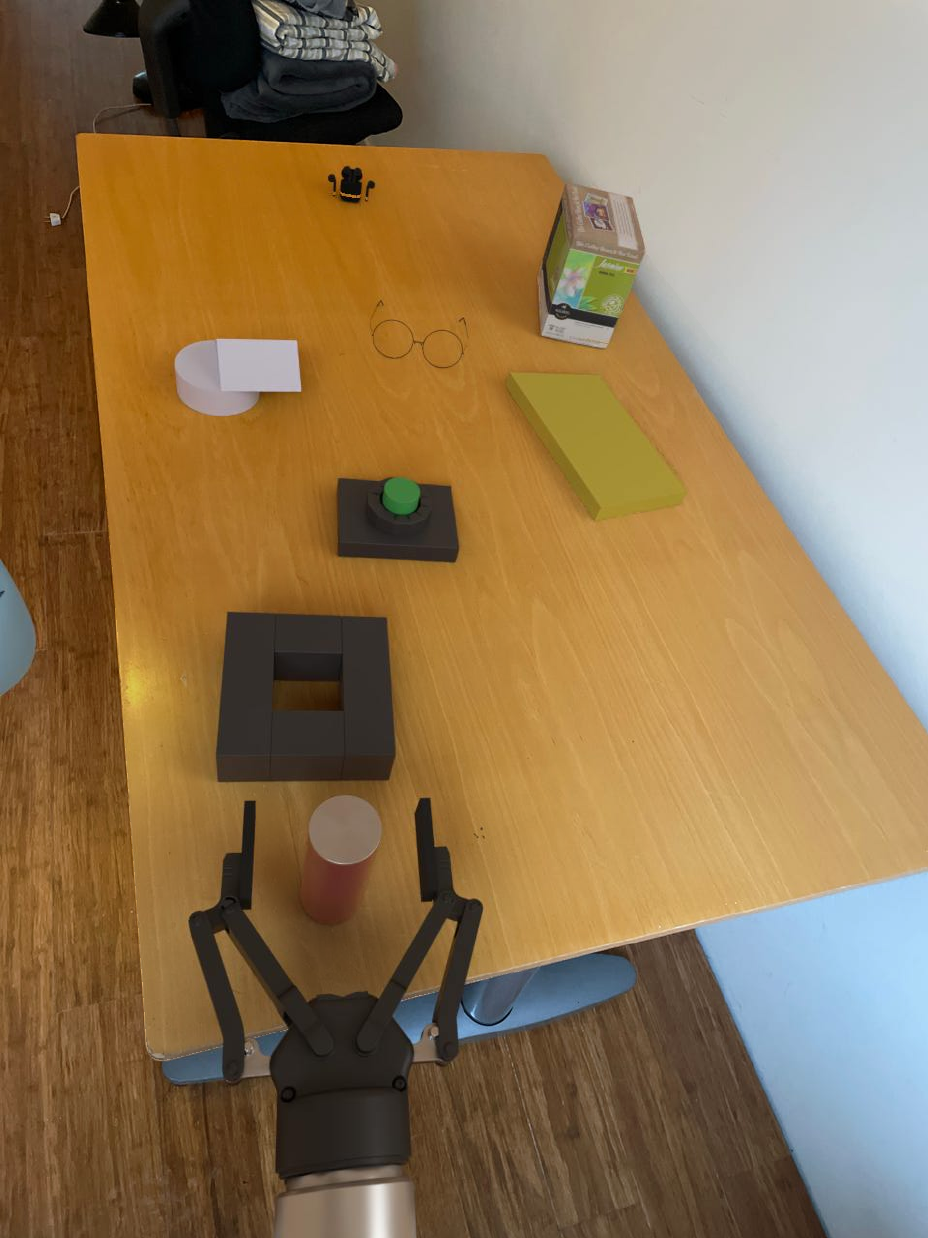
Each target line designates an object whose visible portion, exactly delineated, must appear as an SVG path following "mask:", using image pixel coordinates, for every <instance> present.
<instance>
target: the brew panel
mask: <svg viewBox="0 0 928 1238" xmlns="http://www.w3.org/2000/svg"><path fill="white" fill-rule="evenodd" d="M392 478H396V477H393V476H389V477H386V478H384V479H383V478H382V479H380V480H373V479H361V478H359V479H358V478H346V477H345V478H344V477H338V478H337V485H336V492H335V493H336V494H335V495H336V531H337V532H336V533H337V557H339V558H356V559H357V558H359V559H377V560H379V559H380V560H400V561H417V562H418V561H420V562H437V563H439V562H440V563H456V562H457V559H458V555H459V552H460V543H459V542H460V541H459V534H458V528H457V527H458V526H457V521H456V513H455V506H454V505H455V504H454V499H453V498H454V497H453V492H452V485H443V484H429V483H419V482H416V481H414V480H412V481H413V482H415V483H416V484H417V485H418V487H419V489H420V496H419V501H418V506H417V508H416V510H415V511H414V512H412V513H410V514H407V515H397V514H394V513H392V512H390V511H388V510H387V509H386V508H385V507H384V505H383V503H382V497H383V492H384V486H385V484H386V482H387V481H388V480H390V479H392Z"/></svg>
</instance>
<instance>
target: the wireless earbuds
mask: <svg viewBox="0 0 928 1238" xmlns="http://www.w3.org/2000/svg"><path fill="white" fill-rule="evenodd" d="M340 172H341V173H340V174H341V177H342V178H341V179H340V186H339V192H340V191H341V192H342V193H345V194H351V195H356V196H357V195H360V194H361V195H362V190H363V182H361V180H362V179H363V170H362V169H361V168H360V167H355V168H352V167H351V166H349V165H345V166H343V169H342V170H341V171H340ZM327 181H328V182H329V183H333V184H332V192H333V191H334V192H336V193H337V177H336V175H335V174H334V173H329V174H328V176H327ZM375 188H376V182H375V181H373V180H368V182H367V185H366V187H365V196H366V197H368V198H369V193H370V189H371V190H372V189H375ZM336 195H337V194H336ZM336 195H333V194H332V197H333V198H335V197H336ZM365 196H364V197H365ZM339 198H340V200H342V201H343V202H347V203H348V202H349V203H355V204H357V203H359V202H360V201H361V198H362V196H361V197H360V198H352V197H346V196H342V195H341V194H340V193H339ZM364 201H365V202H366V203H368V202H369V199H368V200H366V199H365V198H364Z"/></svg>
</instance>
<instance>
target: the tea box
mask: <svg viewBox="0 0 928 1238" xmlns="http://www.w3.org/2000/svg"><path fill="white" fill-rule="evenodd" d="M558 203H559V204H558V208H557V211H556V214H555V217H554V221H553V224H552V227H551V230H550V234H549V237H548V241H547V244H546V247H545V251H544V254H543V256H542V257H543V258H542V260H541V263H540V266H539V270H538V274H539V285H538V276H537V277H536V286H537V299H538V314H539V316H538V317H539V328H540V336H542V337H545V338H550V339H553V340H558V341H564V342H568V343H573V344H578V345H584V346H589V347H593V348H598V349H599V348H600V349H606V348H607V347H608V346H609V344H610V341H611V339H612V337H613V334H614V331H615V328H616V326H617V323H618V321H619V319H620V316H621V313H622V311H623V309H624V306H625V303H626V301H627V298H628V297H629V294H630V291H631V289H632V286H633V283H634V281H635V278H636V276H637V274H638V272H639V269H640V267H641V264H642V262H643V259H644V256H645V253H646V246H645V242H644V237H643V233H642V229H641V226H640V222H639V218H638V214H637V210H636V207H635V204H634V198H633V197H631V196H628V195H623V194H619V193H615V192H612V191H611V192H610V191H607V190H603V189H597V188H593V187H588V186H584V185H581V184H576V183H571V182H565V185H564V187H563V191H562V194H561V197H560V200H559V202H558ZM539 286H540V302H539ZM540 310H541V317H540ZM541 327H542V329H541ZM546 332H547V333H546ZM557 334H558V335H557ZM579 338H580V339H579ZM583 339H585V340H583ZM586 339H589V340H591V341H589V340H586ZM592 340H594V341H598V342H594V341H592ZM599 341H600V342H604V343H608V344H604V343H599Z"/></svg>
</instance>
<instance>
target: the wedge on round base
mask: <svg viewBox="0 0 928 1238" xmlns="http://www.w3.org/2000/svg"><path fill="white" fill-rule="evenodd" d="M298 347H299V346H298V340H297V339H296V340H295V339H292V340H291V339H256V338H255V339H249V338H247V339H246V338H215V339H211V340H202V341H201V340H200V341H197V342H193V343H190V344H188V345H186V346H185V347H183V348H181V350H180V351H178V353H177V354H176V356H175V358H174V373H175V374H174V375H175V384H176V392H177V396H178V398H179V399H180V401H181V402H182V403H183V404H184V405H186V407H188V408H189V409H191V410H193V411H196V412H197V413H200V414H203V415H208V416H213V417H229V416H235V415H240V414H242V413H245V412H247V411H249V410H250V409H252V408H253V407H254V406H255V405H256V404H257V403H258V401H259V398H260V396H261V392H279V393H280V392H282V393H283V392H287V393H288V392H289V393H290V392H293V393H294V392H298V393H301V392H302V384H301V371H300V360H299V348H298Z"/></svg>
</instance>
